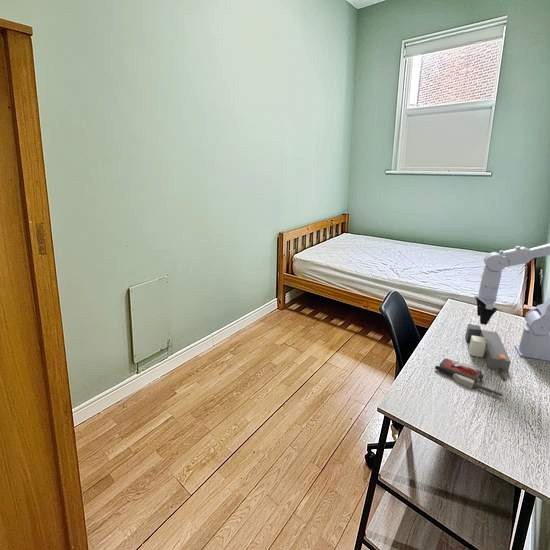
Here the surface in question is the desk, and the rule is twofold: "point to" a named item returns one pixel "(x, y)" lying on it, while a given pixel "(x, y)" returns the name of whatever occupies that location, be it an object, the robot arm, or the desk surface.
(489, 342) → the grey slotted block
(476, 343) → the block
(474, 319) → the desk surface
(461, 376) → the walkie-talkie
